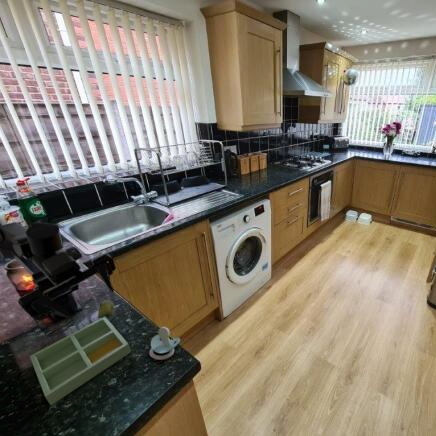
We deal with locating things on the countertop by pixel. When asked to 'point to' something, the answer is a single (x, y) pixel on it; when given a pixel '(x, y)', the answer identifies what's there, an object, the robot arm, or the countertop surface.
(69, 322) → the countertop surface
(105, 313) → the lime
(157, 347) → the pacifier
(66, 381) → the green divided tray
